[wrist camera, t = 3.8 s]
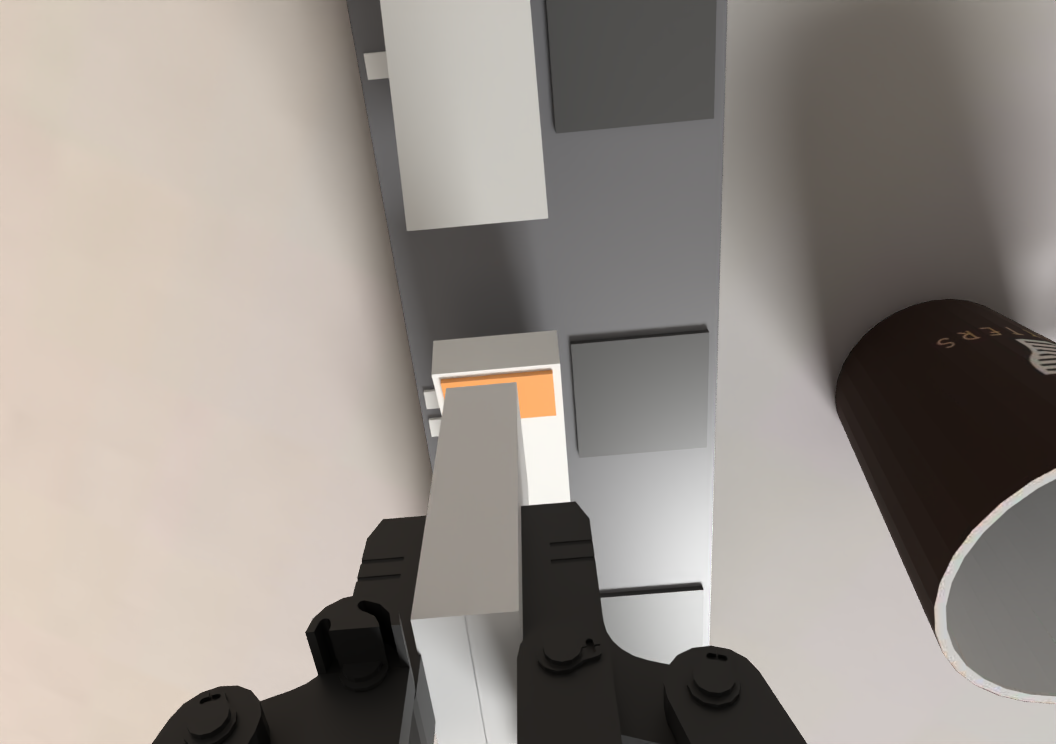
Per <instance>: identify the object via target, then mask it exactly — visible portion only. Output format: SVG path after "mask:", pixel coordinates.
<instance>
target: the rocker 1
mask: <svg viewBox="0 0 1056 744" xmlns="http://www.w3.org/2000/svg"><path fill="white" fill-rule="evenodd" d="M380 5H381V14H382V22H383V31H384V39H385V48H386V56H387V65H388V73H389V82H390V91H391V99H392V108H393V116H394V125H395V133H396V142H397V151H398V159H399V168H400V176H401V185H402V193H403V202H404V211H405V219H406V228H407V231H416V230H427V229H438V228H449V227H459V226H470V225H481V224H492V223H503V222H514V221H524V220H535V219H546V218H548V209H547V197H546V185H545V173H544V161H543V149H542V137H541V125H540V113H539V102H538V90H537V78H536V66H535V54H534V42H533V30H532V18H531V7H530V0H380Z"/></svg>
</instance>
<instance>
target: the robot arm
mask: <svg viewBox="0 0 1056 744" xmlns="http://www.w3.org/2000/svg"><path fill="white" fill-rule="evenodd" d="M357 578H358V582H356V585H355V589H354V593H353V596H351V597H347V598H343V599H341V600H339V601H337V602H335V603H333V604H331V605H329V606H327V607H325V608H324V609H323V610H322V611H321V612H320V613H319V614H318V615H317V616H315V617H314V618H313V620H312V621H311V623H310V625H309V627H308V629H307V631H306V632H305V633H306V636H307V640H308V643H309V646H310V649H311V653H312V656H313V659H314V662H315V666H316V669H317V672H318V676H317V677H316V678H314V679H313V680H311V681H310V682H308V683H307V684H305V685H302V686H300V687H298V688H296V689H293V690H291V691H288V692H285V693H283V694H280V695H277V696H274V697H271V698H268V699H265V700H263V701H259V699H258V698H257V697H256V696H255V695H254V693H253V692H252V691H251V690H248V689H245V688H243V687H240V686H220V687H217V688H214V689H211V690H208V691H205V692H202V693H200V694H199V695H197V696H195V697H194V698H192V699H191V700H189V701H188V702H186V703H185V704H183V705H182V706H181V707H180V708H179V709H178V710H177V712H176V713H175V714H174V715H173V716H172V717H171V718H170V719H169V720H168V722H167V723H166V725H165V726H164V727H163V729H162V730H161V732H160V733H159V734H158V736H157V737H156V739H155V740H154V741H153V743H152V744H433V743H434V734H436V739H437V743H438V744H807V743H806V741H805V740H804V738H803V737H802V735H801V734H800V732H799V731H798V729H797V728H796V726H795V725H794V723H793V722H792V720H791V719H790V717H789V716H788V714H787V713H786V711H785V710H784V708H783V707H782V705H781V704H780V702H779V701H778V699H777V698H776V696H775V695H774V693H773V692H772V690H771V688H770V687H769V685H768V684H767V682H766V681H765V679H764V678H763V676H762V675H761V673H760V672H759V671H758V670H757V669H756V668H755V666H754V665H753V664H752V663H751V662H750V661H749V660H748V659H747V658H745V657H743V656H741V655H739V654H738V653H736V652H734V651H732V650H730V649H725V648H720V647H715V646H704V647H695V648H691V649H689V650H687V651H685V652H683V653H680V654H678V655H677V656H676V657H675V658H674V659H673V661H672V662H671V663H670V664H665V663H660V662H655V661H650V660H646V659H643V658H639V657H636V656H634V655H632V654H630V653H628V652H626V651H624V650H623V649H621V648H620V647H619V646H618V645H617V644H616V643H615V642H613V640H612V639H611V637H610V636H609V634H608V633H607V631H606V628H605V624H604V621H603V613H602V606H601V599H600V591H599V584H598V577H597V570H596V562H595V555H594V548H593V541H592V533H591V526H590V519H589V517H588V516H587V515H586V514H585V512H584V511H583V510H582V509H581V507H580V506H579V505H578V504H577V503H576V501H574V502H562V503H550V504H538V505H529V496H528V480H527V471H526V462H525V453H524V444H523V435H522V426H521V417H520V408H519V399H518V390H517V382H511V383H499V384H488V385H477V386H465V387H454V388H446V392H445V399H444V405H443V412H442V418H441V425H440V431H439V438H438V444H437V451H436V457H435V464H434V470H433V477H432V483H431V490H430V496H429V503H428V509H427V516H417V517H405V518H393V519H383V520H382V521H381V522H380V524H379V525H378V526H377V527H376V529H375V530H374V531H373V532H372V534H371V535H370V536H369V537H368V538H367V541H366V545H365V549H364V553H363V557H362V564H361V565H360V569H359V573H358V577H357Z"/></svg>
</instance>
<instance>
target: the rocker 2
mask: <svg viewBox="0 0 1056 744" xmlns="http://www.w3.org/2000/svg"><path fill="white" fill-rule="evenodd" d="M431 375H432V379H433V383H434V387H435V391H436V395H437V399H438V403H439V407H440V411H441V415H442V412H443V405H444V399H445V392H446V388H454V387H465V386H477V385H488V384H499V383H511V382H517V390H518V399H519V408H520V417H521V426H522V435H523V444H524V453H525V462H526V471H527V480H528V496H529V505H538V504H550V503H562V502H570V490H569V476H568V463H567V450H566V436H565V423H564V410H563V397H562V383H561V370H560V358H559V348H558V337H557V330H552V331H541V332H529V333H518V334H507V335H495V336H484V337H473V338H461V339H450V340H438V341H433V356H432V373H431Z"/></svg>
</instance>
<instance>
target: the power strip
mask: <svg viewBox="0 0 1056 744" xmlns="http://www.w3.org/2000/svg"><path fill="white" fill-rule="evenodd" d="M346 1H347V6H348V12H349V17H350V23H351V28H352V34H353V39H354V45H355V50H356V56H357V61H358V67H359V72H360V78H361V83H362V89H363V94H364V99H365V105H366V110H367V116H368V121H369V127H370V132H371V138H372V143H373V149H374V154H375V160H376V165H377V171H378V176H379V182H380V187H381V193H382V198H383V204H384V209H385V215H386V220H387V226H388V231H389V237H390V242H391V248H392V253H393V259H394V264H395V270H396V275H397V281H398V286H399V292H400V297H401V303H402V308H403V314H404V319H405V325H406V330H407V335H408V341H409V346H410V352H411V357H412V363H413V368H414V374H415V379H416V385H417V390H418V396H419V401H420V407H421V412H422V418H423V423H424V429H425V434H426V440H427V445H428V451H429V456H430V462H431V467H432V473H433V470H434V464H435V457H436V451H437V444H438V438H439V431H440V425H441V418H442V415H441V411H440V407H439V403H438V399H437V395H436V391H435V387H434V383H433V379H432V375H431V373H432V356H433V341H438V340H450V339H461V338H473V337H484V336H495V335H507V334H518V333H529V332H541V331H552V330H557V337H558V348H559V358H560V370H561V383H562V397H563V410H564V423H565V436H566V450H567V463H568V476H569V490H570V502H574V501H576V503H577V504H578V505H579V506H580V507H581V509H582V510H583V511H584V512H585V514H586V515H587V516H588V517H589V519H590V526H591V533H592V541H593V548H594V555H595V562H596V570H597V577H598V584H599V591H600V599H601V606H602V613H603V621H604V624H605V628H606V631H607V633H608V634H609V636H610V637H611V639H612V640H613V642H615V643H616V644H617V645H618V646H619V647H620V648H621V649H623V650H624V651H626V652H628V653H630V654H632V655H634V656H636V657H639V658H643V659H646V660H650V661H655V662H660V663H665V664H670V663H671V662H672V661H673V659H674V658H675V657H676V656H677V655H678V654H680V653H683V652H685V651H687V650H689V649H691V648H695V647H704V646H709V642H710V606H711V570H712V534H713V499H714V463H715V427H716V391H717V355H718V319H719V283H720V248H721V212H722V176H723V140H724V104H725V68H726V32H727V0H530V7H531V18H532V30H533V42H534V54H535V66H536V78H537V90H538V102H539V113H540V125H541V137H542V149H543V161H544V173H545V185H546V197H547V209H548V218H546V219H535V220H524V221H514V222H503V223H492V224H481V225H470V226H459V227H449V228H438V229H427V230H416V231H407V228H406V219H405V211H404V202H403V193H402V185H401V176H400V168H399V159H398V151H397V142H396V133H395V125H394V116H393V108H392V99H391V91H390V82H389V73H388V65H387V56H386V48H385V39H384V31H383V22H382V14H381V5H380V0H346Z"/></svg>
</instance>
